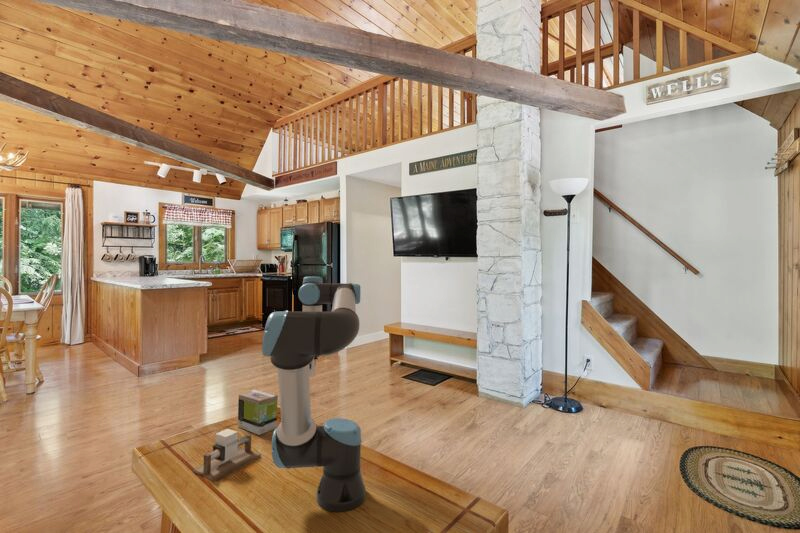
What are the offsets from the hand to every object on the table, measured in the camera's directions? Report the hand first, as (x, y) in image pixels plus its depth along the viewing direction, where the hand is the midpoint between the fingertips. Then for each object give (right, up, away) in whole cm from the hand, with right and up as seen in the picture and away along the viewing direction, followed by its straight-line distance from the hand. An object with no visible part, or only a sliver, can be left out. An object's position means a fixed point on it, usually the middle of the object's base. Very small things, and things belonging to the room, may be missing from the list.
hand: (310, 376), depth 149 cm
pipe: (-27, -24, -11) cm, 38 cm away
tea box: (-28, -29, +21) cm, 46 cm away
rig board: (-27, -29, -11) cm, 41 cm away
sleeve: (-28, -26, -12) cm, 39 cm away
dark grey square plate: (-29, -25, -14) cm, 41 cm away
